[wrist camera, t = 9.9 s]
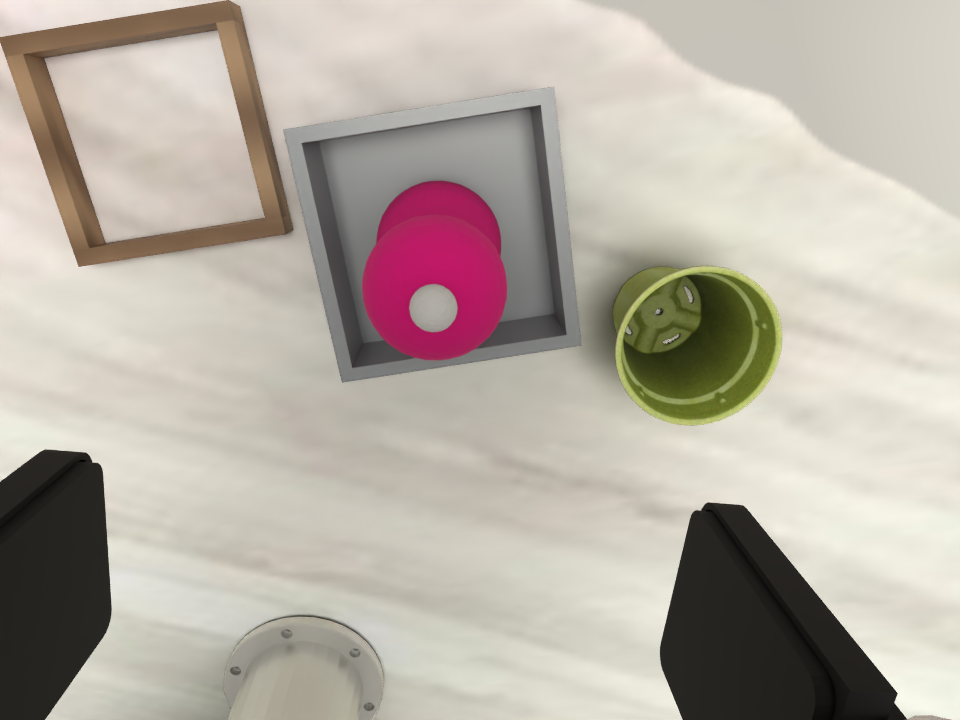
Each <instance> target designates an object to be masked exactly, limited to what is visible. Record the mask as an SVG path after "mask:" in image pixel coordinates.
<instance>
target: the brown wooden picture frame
mask: <svg viewBox="0 0 960 720" xmlns="http://www.w3.org/2000/svg"><path fill="white" fill-rule="evenodd" d="M213 30H218V33H219V36H220V40H221V44H222V48H223V52H224V56H225V60H226V64H227V68H228V72H229V76H230V80H231V84H232V88H233V92H234V96H235V100H236V104H237V108H238V112H239V116H240V120H241V124H242V128H243V132H244V136H245V140H246V144H247V148H248V152H249V156H250V160H251V164H252V168H253V172H254V176H255V180H256V184H257V188H258V192H259V196H260V200H261V204H262V208H263V212H264V216H265V218H262V219H255V220H249V221H243V222H236V223H230V224H224V225H217V226H211V227H205V228H198V229H192V230H186V231H179V232H173V233H167V234H160V235H154V236H148V237H141V238H135V239H129V240H122V241H116V242H110V243H105V241H104V238H103V235H102V232H101V229H100V226H99V223H98V220H97V217H96V214H95V211H94V208H93V205H92V202H91V199H90V196H89V193H88V190H87V187H86V184H85V181H84V178H83V175H82V172H81V169H80V166H79V163H78V160H77V157H76V154H75V151H74V148H73V145H72V142H71V139H70V136H69V133H68V130H67V127H66V124H65V121H64V118H63V115H62V112H61V109H60V106H59V103H58V100H57V97H56V94H55V91H54V88H53V85H52V81H51V78H50V75H49V72H48V69H47V66H46V63H45V60H44V58H46V57H52V56H59V55H65V54H71V53H77V52H83V51H90V50H96V49H102V48H108V47H114V46H120V45H127V44H133V43H139V42H145V41H151V40H158V39H164V38H170V37H176V36H182V35H189V34H195V33H201V32H207V31H213ZM0 43H1V46H2V48H3V51H4V54H5V57H6V60H7V63H8V66H9V68H10V71H11V74H12V77H13V80H14V83H15V86H16V89H17V91H18V94H19V97H20V100H21V103H22V106H23V109H24V111H25V114H26V117H27V120H28V123H29V126H30V129H31V131H32V134H33V137H34V140H35V143H36V146H37V149H38V152H39V154H40V157H41V160H42V163H43V166H44V169H45V172H46V174H47V177H48V180H49V183H50V186H51V189H52V192H53V194H54V197H55V200H56V203H57V206H58V209H59V212H60V215H61V217H62V220H63V223H64V226H65V229H66V232H67V235H68V237H69V240H70V243H71V246H72V249H73V252H74V255H75V257H76V260H77V263H78V266H79V267H81V266H87V265H93V264H100V263H106V262H112V261H119V260H125V259H131V258H138V257H144V256H150V255H157V254H163V253H169V252H176V251H182V250H188V249H195V248H201V247H208V246H214V245H220V244H227V243H233V242H239V241H246V240H252V239H258V238H265V237H271V236H277V235H284V234H287V233H289V232H290V231H292V230H293V227H292V223H291V219H290V214H289V210H288V206H287V202H286V198H285V193H284V189H283V185H282V181H281V177H280V173H279V168H278V164H277V160H276V156H275V152H274V148H273V143H272V139H271V135H270V131H269V127H268V122H267V118H266V114H265V110H264V106H263V102H262V97H261V93H260V89H259V85H258V81H257V76H256V72H255V68H254V64H253V60H252V56H251V51H250V47H249V43H248V39H247V35H246V30H245V26H244V22H243V18H242V14H241V10H240V6H238V5H236V4H235V3H233V2H231V1H229V0H227V1H221V2H214V3H208V4H202V5H196V6H190V7H184V8H177V9H171V10H165V11H159V12H153V13H147V14H140V15H134V16H128V17H122V18H116V19H109V20H103V21H97V22H91V23H85V24H79V25H72V26H66V27H60V28H54V29H48V30H42V31H35V32H29V33H23V34H17V35H11V36H5V37H0Z"/></svg>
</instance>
